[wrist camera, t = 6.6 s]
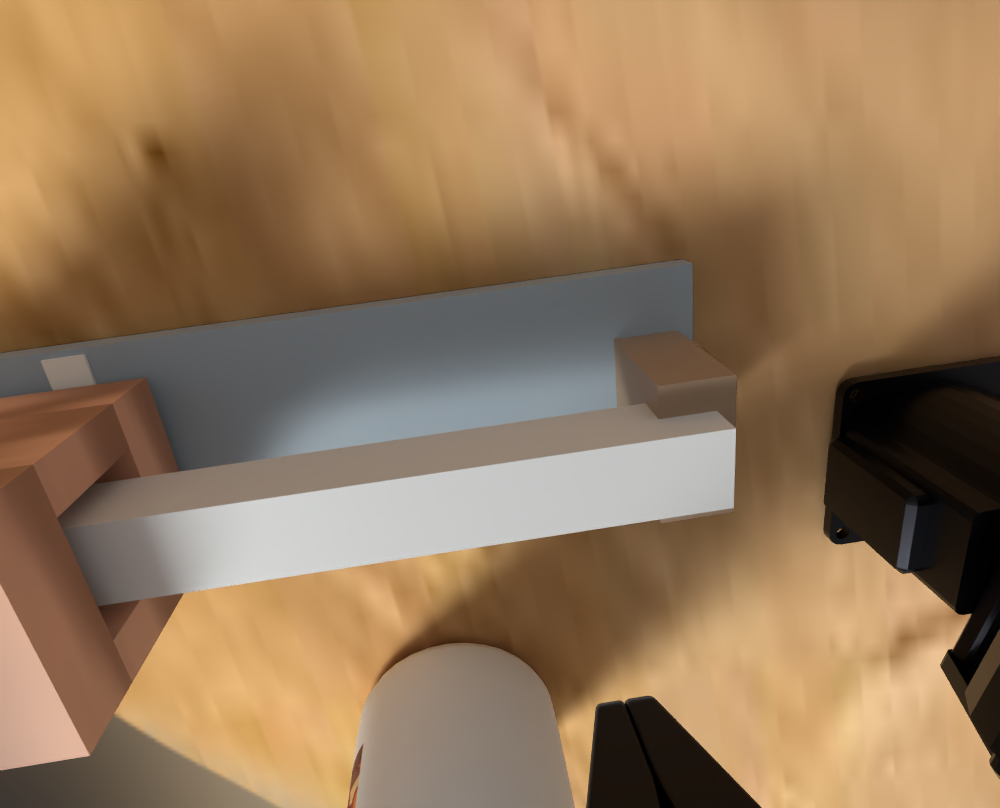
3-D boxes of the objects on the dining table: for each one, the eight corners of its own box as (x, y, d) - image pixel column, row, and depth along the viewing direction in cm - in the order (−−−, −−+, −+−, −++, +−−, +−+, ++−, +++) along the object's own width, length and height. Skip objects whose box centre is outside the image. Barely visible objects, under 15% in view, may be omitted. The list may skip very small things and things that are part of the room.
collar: (145, 377, 18) (-36, 516, 11) (207, 551, 20) (89, 755, 13) (-33, 402, 18) (-330, 559, 11) (50, 574, 20) (-153, 795, 13)
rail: (683, 259, 19) (785, 303, 14) (684, 483, 22) (769, 596, 17) (-149, 373, 18) (-415, 473, 13) (-30, 592, 21) (-200, 752, 16)
